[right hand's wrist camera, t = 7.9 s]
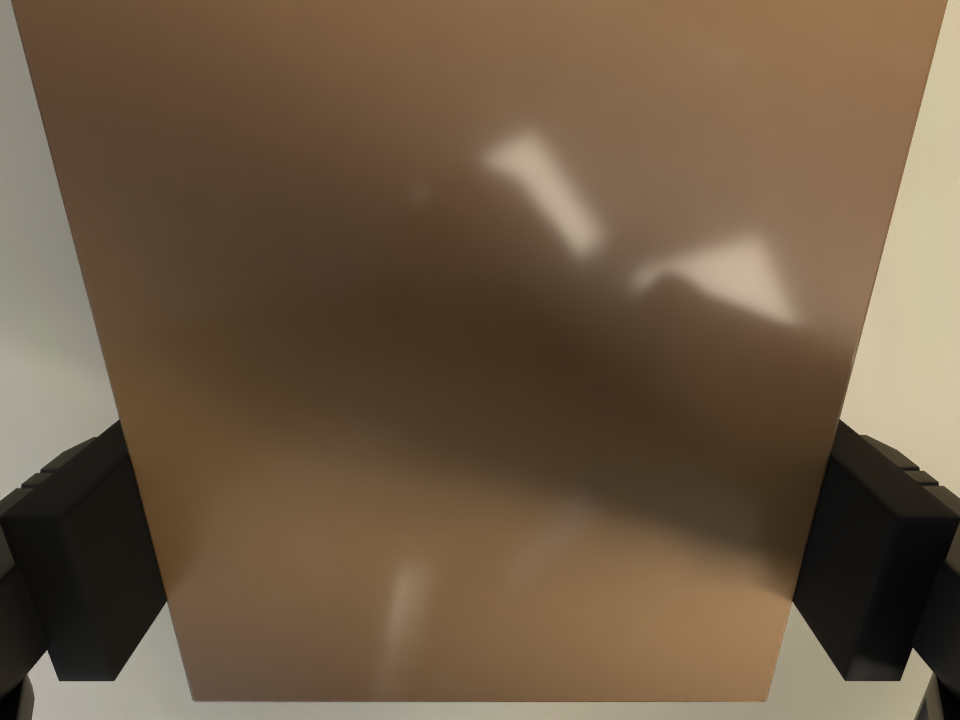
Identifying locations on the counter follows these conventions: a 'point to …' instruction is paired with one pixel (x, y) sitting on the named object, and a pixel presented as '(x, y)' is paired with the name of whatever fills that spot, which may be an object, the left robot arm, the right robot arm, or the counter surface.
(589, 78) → the cabinet
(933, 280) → the counter surface
